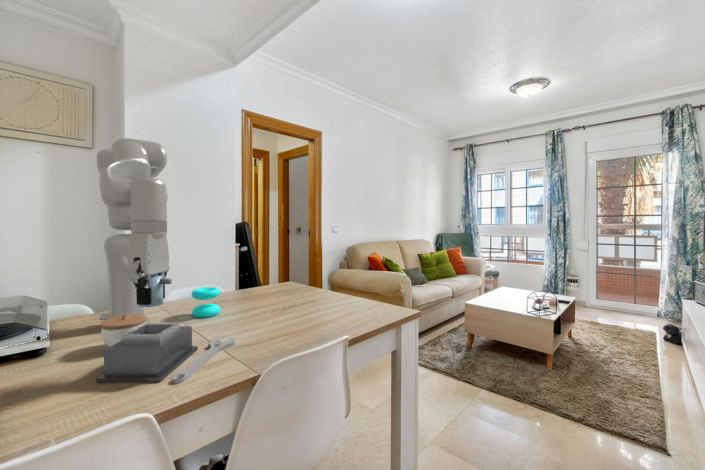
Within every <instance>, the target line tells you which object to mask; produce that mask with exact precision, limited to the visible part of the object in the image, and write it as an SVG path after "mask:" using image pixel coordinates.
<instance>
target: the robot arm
mask: <svg viewBox="0 0 705 470" xmlns="http://www.w3.org/2000/svg"><path fill="white" fill-rule="evenodd" d="M167 161H168V155H167V152H166V148H165V147H164V146H163V145H162V144H161V143H159V142H154V141H150V140H149V141H147V140H141V139H135V138H128V137H125V138H118V139H117V140H115V141H113V143H112V144H111V148H104V149H101V150H99V151H98V152H97V153H96V166H97V169H98V170H97V171H98V173H99V180H98V181H99V182H98V185H99V190H100V197H101V200H102V202H103V203H104V205H105V206H106V207H107V211H108V213H107V215H108V216H107V218H108V222H109V226H110V227H111V228H112V229H113V230H117V231H130V233H122V234H121V233H120V234H114V235H111V236H108V237H107V238H106V239H105V241H104V246H103V247H104V248H103V249H104V253H105V258H106V262H107V270H108V293H109V294H108V295H109V298H108V299H109V312H103V313H101V315H100V316H99V319H98V320H99V321H105V320H107V319H110V318H114V317H119V316H122V314H126V315H144V307H140V305H150V304H151V303H152V299H151V288H149V285H150V278H151V275H162V276H163V279H167V275H168V272H169V270H170V255H169V254H170V252H169V244H168V238H167V235H168V218H167V217H168V215H167V214H168V213H167V212H168V207H167V202H168V190H167V184H166V182H165V181H164V180H163V179H161V178H156V177H158V176H159V175H160V174H161V172H162V171H163V170H164V169H165V167H166V165H167ZM142 278H145V281H144V280H143V279H142ZM165 298H166V284H163V300H164V299H165ZM144 316H145V315H144ZM146 318H147V320H146V324H149V323H150V319H149V317H147V316H146Z"/></svg>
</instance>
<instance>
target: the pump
mask: <svg viewBox="0 0 705 470" xmlns="http://www.w3.org/2000/svg"><path fill="white" fill-rule="evenodd" d="M142 279H143V280H144V281H145V278H142ZM172 282H173V280H172V278H171V277H170V278H167V277H166V279H163V276H162V275H151V278H150V285H149V288H151V299H152V303H151V304H150V305H140V307H143V308H153V307H157V306H158V307H159V306H162V305H164V299H163V284H165V285H172Z"/></svg>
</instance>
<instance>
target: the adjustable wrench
mask: <svg viewBox="0 0 705 470" xmlns="http://www.w3.org/2000/svg"><path fill="white" fill-rule="evenodd" d="M235 344H236V339H235V337H233V336H230V337H229V340H228V339H227V340H225V341H221V338H220V337H219V338H215V339H214V340H212V341H210V342H209V343H207V350H206V351H205V352H203V353H202V354H201V355H200V356H199V357H197V358H195V360H193V361H192V362H191V363H189V364H188V365H187V366H185V367H184V368H183V369H181V370H180V371H179V372H178V373H177V374H175V375H174V376H173V377H172V383H173V384H176V385H177V384H182V383H184V382H186V381H187V380H188V379H189V378H191V377H192V376H193V375H194V374H195V373H196V372H198V371H199V370H200V369H201V368H202V367H203V366H204V365H205V364H207V363H208V361H210V360H211V359H212V358H214V357H215V356H216V355H217V354H218V353H220V352H222V351H224V350H227V349H229V348H232V347H233V346H235Z"/></svg>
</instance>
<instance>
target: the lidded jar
mask: <svg viewBox="0 0 705 470" xmlns="http://www.w3.org/2000/svg"><path fill="white" fill-rule="evenodd" d="M146 317H147V315H126V314H122V316H119V317H114V318H110V319H107V320H102V322H101V323H100V325H99V326H100V330H101V332H100V333H101V337H102V341H103V343H104V344H105V345H106V346H107V348H109V347H111V346H112V345H114V344H116V343H118V342H120V341H121V336H122V335H124V334H126V333H127V332H129V331H131V330H133V329H135V328H137V327H139V326H141V325H143V324H146V320H147V318H148V317H147V318H146Z"/></svg>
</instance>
